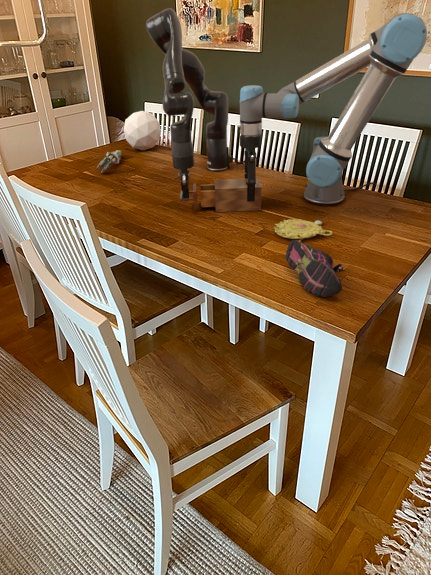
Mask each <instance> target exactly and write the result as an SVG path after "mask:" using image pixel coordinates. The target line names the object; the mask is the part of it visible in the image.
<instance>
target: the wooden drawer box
mask: <svg viewBox="0 0 431 575" xmlns="http://www.w3.org/2000/svg"><path fill="white" fill-rule="evenodd" d="M213 181H214V183H213V184H215V203H216V207H214V208H215V213H224V212H226V213H228V212H253V211H257V212H258V211H262V190H263V188H262V185H261V181H260V179H259V177H256V184H255V201H251V202H247V185H246V183H248V178H245V177H244V178H221V179H219V178H218V179H217V178H216V179H214V180H213Z"/></svg>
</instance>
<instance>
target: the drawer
mask: <svg viewBox="0 0 431 575" xmlns="http://www.w3.org/2000/svg"><path fill="white" fill-rule="evenodd" d="M199 192H200V208H215V207H216V203H215V183H213V184H200V191H199ZM189 194H192V197H189V198H183V191H182V190H180V193H179V201H180V202H184V200H188V201H193V202H192V203H193V210H198V188H197V183H196V182H194V183H192V190H189Z"/></svg>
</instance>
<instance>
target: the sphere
mask: <svg viewBox="0 0 431 575" xmlns="http://www.w3.org/2000/svg"><path fill="white" fill-rule="evenodd" d="M124 120H125V121H124V126H123V134H124V139H125V140H126V142H127V143H128V144H129V145H130V146H131V147H132V148H133V149H136V150H140V151H146V150H149V149H152V148H154V147H155V146H156V145H157V144H159V142H160V139H161V133H162V129H161V124H160V122H159V120H158V119H157V118H156V117H155V115H154V114H153V113H151V112H148V111H144V110H139V111H135V112H133V113H131V114H130V115H129V116H128V117H127V118H125V119H124Z"/></svg>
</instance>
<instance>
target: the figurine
mask: <svg viewBox="0 0 431 575" xmlns="http://www.w3.org/2000/svg"><path fill="white" fill-rule="evenodd" d="M122 153H123V152H122V150H115V151H111V152H110V151H107V152H106V153H105V155H106V156H104V157H103V158H102V159H101V161H100V162H99V163H98V165H97V167H96V169H97V170H100V173H101V174H104V173H105V172H106V171H107V170H108V169H109V168H110V167H111V166H112V165H119V164H120V160H121V158H122V157H123V154H122Z"/></svg>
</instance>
